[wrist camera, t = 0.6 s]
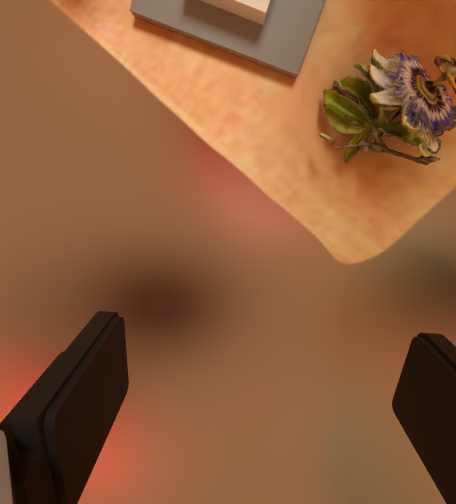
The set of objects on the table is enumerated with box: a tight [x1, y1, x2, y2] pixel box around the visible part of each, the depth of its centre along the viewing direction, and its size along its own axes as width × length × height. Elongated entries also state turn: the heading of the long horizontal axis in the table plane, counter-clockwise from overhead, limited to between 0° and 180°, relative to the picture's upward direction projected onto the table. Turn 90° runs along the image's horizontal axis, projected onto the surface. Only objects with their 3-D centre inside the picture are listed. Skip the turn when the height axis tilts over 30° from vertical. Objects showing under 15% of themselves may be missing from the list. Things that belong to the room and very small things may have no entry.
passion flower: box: [320, 49, 456, 165], centre depth 30 cm, size 11×11×12 cm
